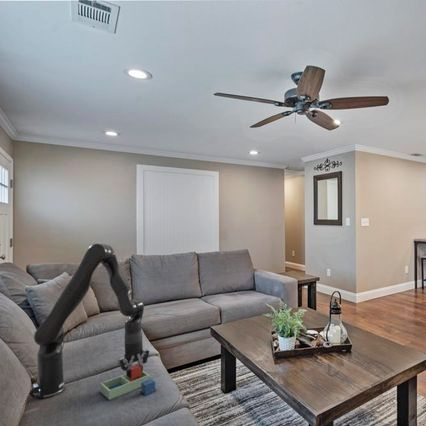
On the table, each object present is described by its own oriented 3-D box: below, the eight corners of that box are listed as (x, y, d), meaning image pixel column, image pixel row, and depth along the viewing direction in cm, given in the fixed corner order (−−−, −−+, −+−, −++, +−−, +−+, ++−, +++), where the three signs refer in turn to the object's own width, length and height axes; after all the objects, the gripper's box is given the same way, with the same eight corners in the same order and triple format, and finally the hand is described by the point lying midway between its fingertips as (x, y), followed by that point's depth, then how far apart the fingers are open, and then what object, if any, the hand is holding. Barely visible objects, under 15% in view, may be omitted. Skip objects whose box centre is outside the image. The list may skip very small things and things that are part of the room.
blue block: (145, 395, 148) (145, 385, 148) (141, 391, 151) (141, 382, 151) (155, 390, 152) (155, 381, 152) (151, 387, 155) (150, 378, 155)
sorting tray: (109, 400, 145) (109, 391, 145) (100, 391, 152) (99, 383, 152) (149, 383, 159) (149, 375, 159) (139, 376, 166) (139, 368, 166)
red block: (131, 378, 156) (131, 369, 156) (128, 376, 159) (127, 367, 159) (141, 375, 159) (141, 366, 159) (137, 372, 162) (137, 363, 162)
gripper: (145, 334, 167) (146, 367, 167) (114, 343, 156) (115, 379, 156) (151, 337, 162) (153, 371, 162) (120, 347, 151) (121, 383, 151)
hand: (134, 374), depth 159 cm, fingers closed on red block, 4 cm apart
